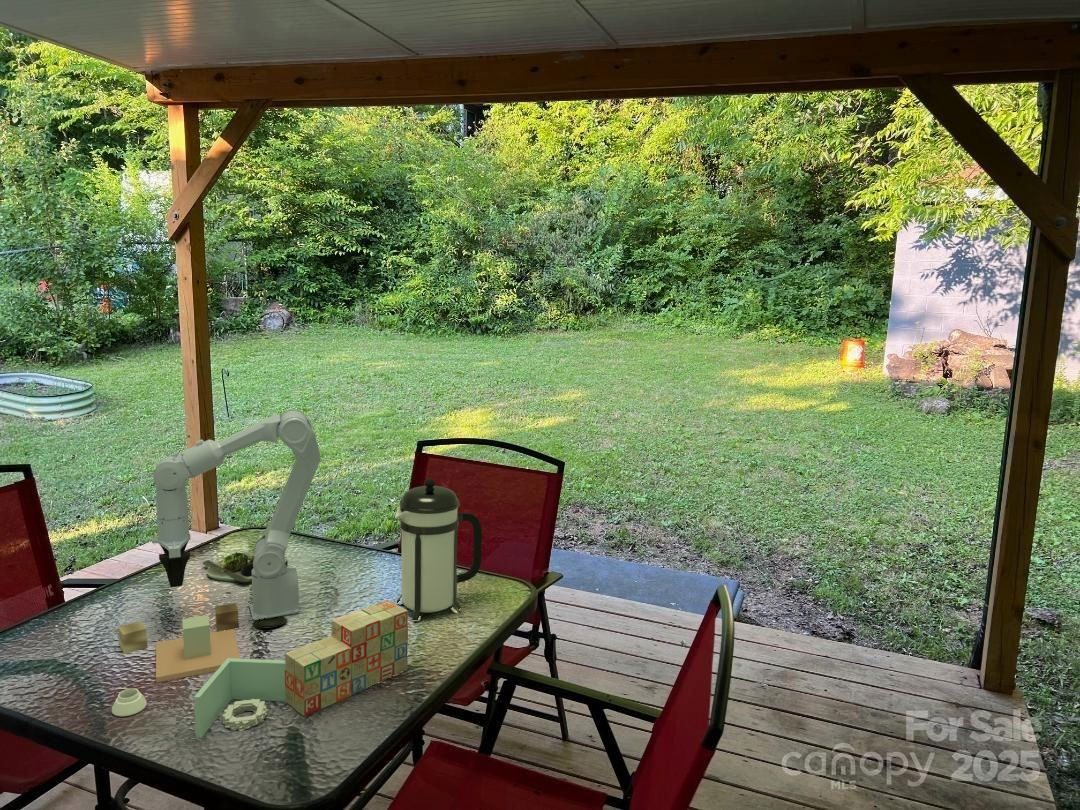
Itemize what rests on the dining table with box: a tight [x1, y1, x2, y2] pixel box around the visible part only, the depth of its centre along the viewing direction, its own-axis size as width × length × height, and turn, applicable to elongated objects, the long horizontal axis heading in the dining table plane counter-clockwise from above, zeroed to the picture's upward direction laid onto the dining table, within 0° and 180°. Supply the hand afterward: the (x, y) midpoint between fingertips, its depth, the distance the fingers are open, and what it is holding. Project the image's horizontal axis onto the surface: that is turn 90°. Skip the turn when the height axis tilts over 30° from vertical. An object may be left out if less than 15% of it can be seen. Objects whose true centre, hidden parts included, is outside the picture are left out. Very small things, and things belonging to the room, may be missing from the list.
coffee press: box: [394, 477, 483, 620], centre depth 161 cm, size 17×16×30 cm
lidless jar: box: [111, 688, 148, 717], centre depth 121 cm, size 5×3×5 cm
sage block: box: [181, 614, 211, 660], centre depth 138 cm, size 4×4×6 cm
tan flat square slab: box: [155, 629, 241, 683], centre depth 139 cm, size 14×14×1 cm
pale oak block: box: [117, 621, 148, 655], centre depth 141 cm, size 4×4×4 cm
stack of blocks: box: [284, 600, 409, 717], centre depth 130 cm, size 21×6×12 cm, turn 138°
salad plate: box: [202, 551, 289, 584], centre depth 179 cm, size 19×18×5 cm
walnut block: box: [215, 602, 240, 632], centre depth 151 cm, size 4×4×4 cm
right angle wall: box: [193, 658, 286, 739], centre depth 120 cm, size 12×12×8 cm
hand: (176, 579), depth 151 cm, fingers open, 7 cm apart
